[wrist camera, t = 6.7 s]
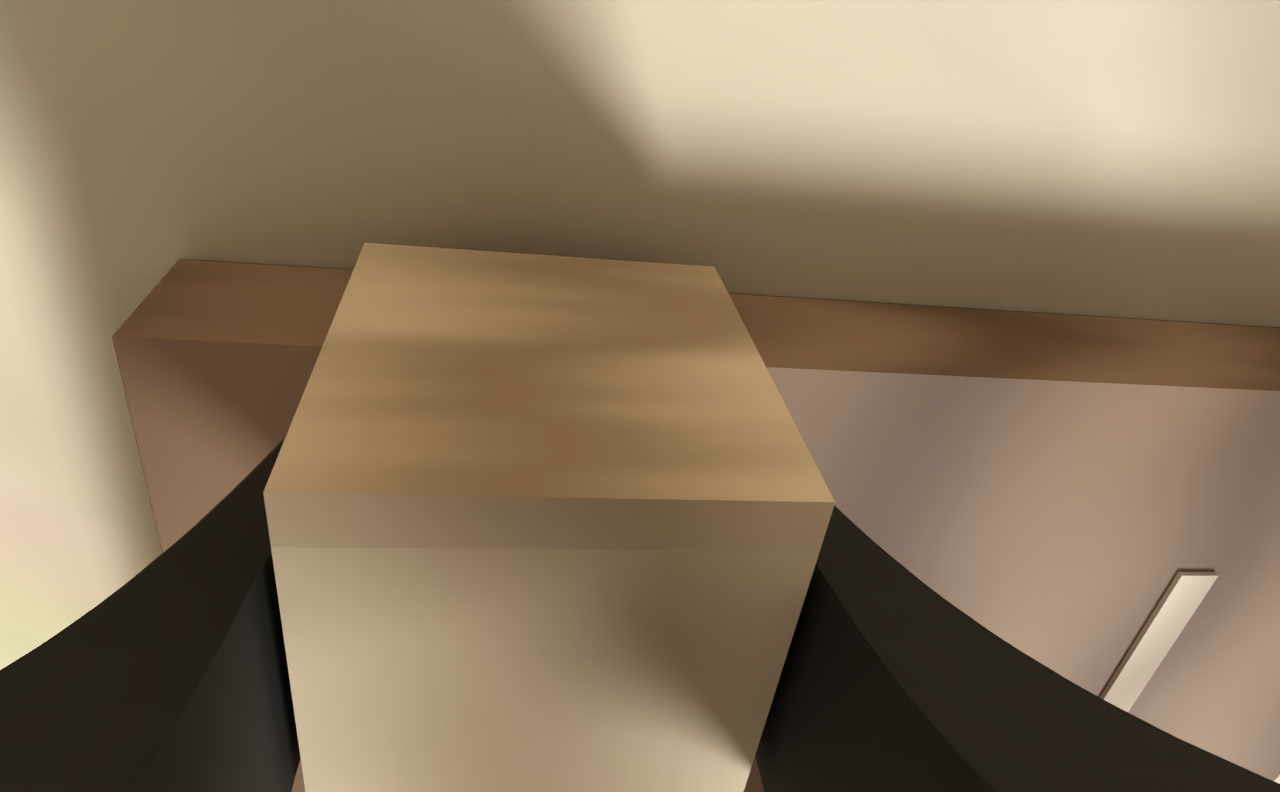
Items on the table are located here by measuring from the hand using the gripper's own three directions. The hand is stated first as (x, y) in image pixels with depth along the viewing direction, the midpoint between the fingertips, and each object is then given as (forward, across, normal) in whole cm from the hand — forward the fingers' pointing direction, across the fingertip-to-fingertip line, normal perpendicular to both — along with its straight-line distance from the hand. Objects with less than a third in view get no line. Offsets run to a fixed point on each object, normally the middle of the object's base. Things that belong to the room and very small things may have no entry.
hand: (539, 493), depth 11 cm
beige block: (+2, 0, +1) cm, 3 cm away
